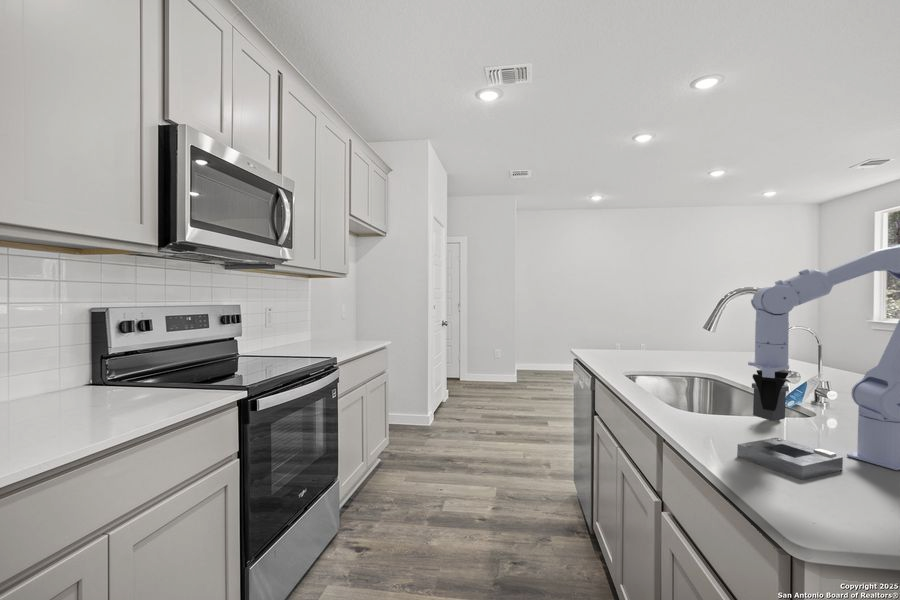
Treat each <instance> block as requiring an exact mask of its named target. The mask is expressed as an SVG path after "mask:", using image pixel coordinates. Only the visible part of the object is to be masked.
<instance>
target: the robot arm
mask: <svg viewBox="0 0 900 600" xmlns="http://www.w3.org/2000/svg"><path fill="white" fill-rule="evenodd" d="M882 271H883V272H884V271H885V272H887V273H888V274H889V275H891V276H892V277H893V278H896V280H898V281H900V243H896V244H891V245H890V246H888V247H883V248H880V249H874V250H872V251H869V252H867V253H865V254H863V255H860V256H858V257H856V258H853V259H851V260H848V261H846V262H844V263H841V264H839V265H837V266H834V267H831V268H830V269H828V270H825V271H822V270H819V269H811V270H810V269H802V270H799V271H798V275H795V276H793V277H790V278H788V279H785V280H781V279H780V280H777V281H774V284H775V285H774V286H765V287H761V288H759V289H758V290H757V291H756V292H755V293H754V294H753V297H752V299H750V304H751V306H752V308H753V309H754V310H755V325H754V326H755V328H754V329H755V330H754V331H755V333H754V334H755V335H754V337H755V338H754V339H755V340H754V361H753V360H752V361H748V362H747V365H748V366H751V367H752V366H753V367H755V368H756V371H755V372H756V373H757V374H756V373H753V374H752V379H753V381H754V383H756V385H757V387H758V390H759V394H760V399H761V404H762V408H763V409H764V410H771V411H775V410H776V407H777V403H778V398H779V394H780V391H781V388H782V386H783V385H785V383H786V382H787V377H788V376H789V371H787V370H790V365H789V335H790V334H789V331H790V330H789V328H790V327H789V325H790V323H789V321H790V320H789V315H790V312H791V311H792V310H793V309H794V308H795V307H798V306H801V305H803V304H806V303H808V302H811V301H813V300H816V299H819V298H821V297H825V296H827V295H829V294H830V293H831V291H832V289H833V287H834V286H836V285H839V284H841V283H844V282H847V281H850V280H853V279H857V278H859V277H862V276H865V275H868V274H871V273H873V272H874V273H875V272H882ZM782 370H785V371H782ZM851 398H852V400H853V402H854V403H855V404H856V405H857V406H858V412H857V413H858V415H857V446H856V447H857V450H856V451H853V452H849V453H846V456H847V457H850V458H852V459H855V460H856V459H857V460H859V461H863V462H867V463H870V464H873V465H877V466H880V467H884V468H887V469H890V470H894V471H899V470H900V318H899V320H898V322H897V323H896V326H895V327H894V329H893V332H892V334H891V337H890V338H889V341H888V343H887V345H886V347H885V349H884V351H883V352H882V355H881V357H880V360H879V362H878V364H877V365H876V366H874V367H873V368H871V369H869V370H867V371H866V372H865V373H864V376H863V378H862V379H861V380H859V381H858V382H856V383H855V384H854V385H853V387H852V388H851Z"/></svg>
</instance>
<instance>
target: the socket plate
mask: <svg viewBox="0 0 900 600" xmlns="http://www.w3.org/2000/svg"><path fill="white" fill-rule="evenodd" d="M736 455H737V458H740V459H743V460H747V461H749V462H752V463H755V464H757V465H761V466H764V467H766V468H769V469H772V470H774V471H777V472H780V473H782V474H785V475H788V476H791V477H794V478H797V479H800V480H803V481H804V480H806V479H811V478H815V477H820V476H824V474H825V475H827V474H828V473H829V474H832V472H833V473H837V472H841V471H843V464H844V463H843V462H844V460H843V458H844V457H843V456H840V455H838V454H837V453H836V452H832V451H830V450H826V449H822V448H813V447H810V446H808V445H807V446H806V445H802V444H800V443H796V442H793V441H790V440H786V439H782V438H779V437H772V438H765V439H760V440H755V441H749V442H743V443H738V444H737V453H736ZM840 470H841V471H840ZM836 471H837V472H836Z"/></svg>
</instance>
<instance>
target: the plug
mask: <svg viewBox="0 0 900 600" xmlns="http://www.w3.org/2000/svg"><path fill="white" fill-rule="evenodd" d="M751 388H752V389H753V407H752V416H754V417H758V418H761V419H765V420H767V421H771V422H775V421H779V420H780V421H781V420H785V419H786V401H787V392H789V388H790V387H789V386H788V385H785V384H784V385H783V386H782V388H781V391H780V394H779V398H778V403H777V407H776V410H775V411H771V410H764V409H763V408H762V404H761V399H760V394H759V390H758V387H757V385H756V383H755V382H751Z"/></svg>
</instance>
